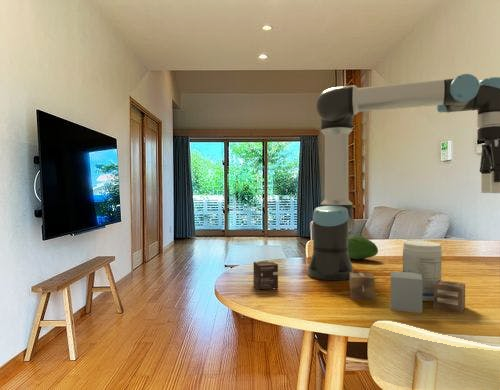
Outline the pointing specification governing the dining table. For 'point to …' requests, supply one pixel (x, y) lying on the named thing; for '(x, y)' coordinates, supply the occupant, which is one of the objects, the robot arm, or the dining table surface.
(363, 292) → the marked cube left
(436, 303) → the marked cube right
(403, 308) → the plain block
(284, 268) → the dining table surface
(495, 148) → the robot arm
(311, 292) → the dining table surface
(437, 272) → the supplement tub
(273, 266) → the box
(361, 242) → the fruit
